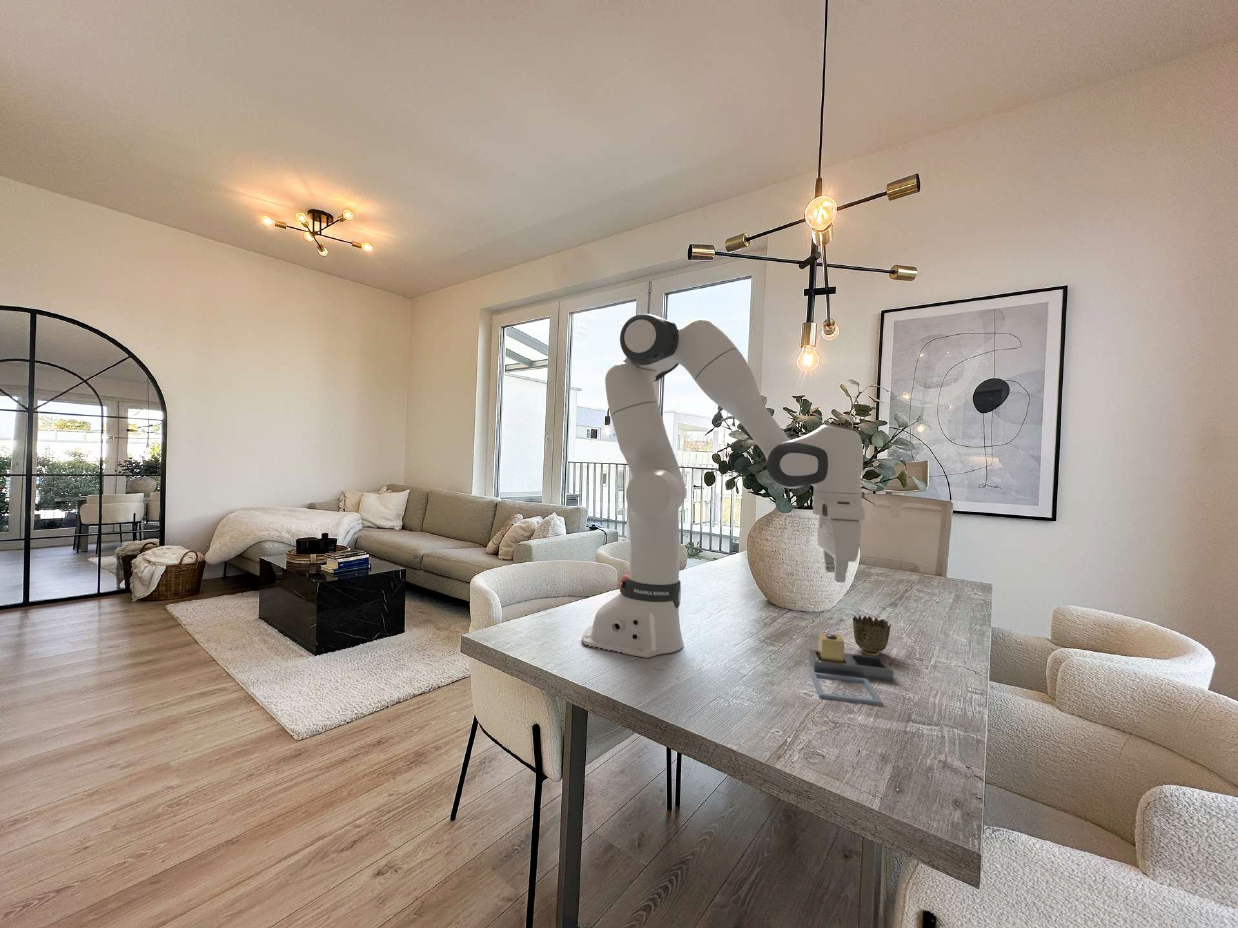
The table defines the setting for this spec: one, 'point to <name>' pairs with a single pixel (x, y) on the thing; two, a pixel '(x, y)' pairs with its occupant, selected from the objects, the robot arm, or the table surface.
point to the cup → (871, 634)
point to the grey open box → (853, 666)
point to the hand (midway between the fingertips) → (834, 576)
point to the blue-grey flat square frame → (874, 701)
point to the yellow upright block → (830, 648)
